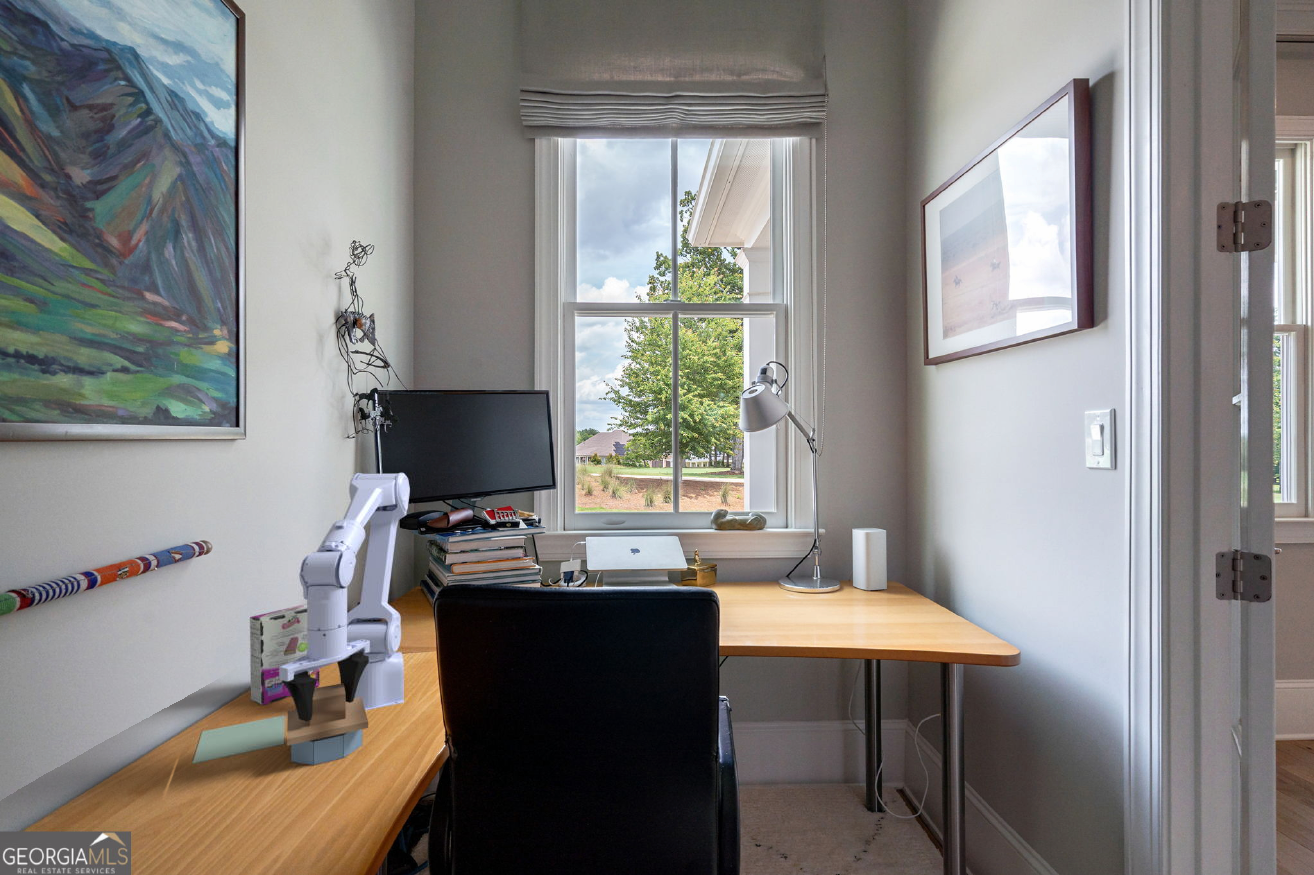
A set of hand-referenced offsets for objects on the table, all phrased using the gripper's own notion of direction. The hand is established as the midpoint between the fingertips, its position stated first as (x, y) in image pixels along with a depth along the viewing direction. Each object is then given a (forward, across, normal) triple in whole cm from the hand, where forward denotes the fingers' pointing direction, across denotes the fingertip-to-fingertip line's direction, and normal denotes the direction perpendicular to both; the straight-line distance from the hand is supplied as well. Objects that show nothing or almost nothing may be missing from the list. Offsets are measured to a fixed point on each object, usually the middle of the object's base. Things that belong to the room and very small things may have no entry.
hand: (327, 710), depth 99 cm
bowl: (+7, 0, 0) cm, 7 cm away
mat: (+7, +4, -16) cm, 18 cm away
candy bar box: (+7, -12, -28) cm, 31 cm away
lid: (+2, 0, 0) cm, 2 cm away
